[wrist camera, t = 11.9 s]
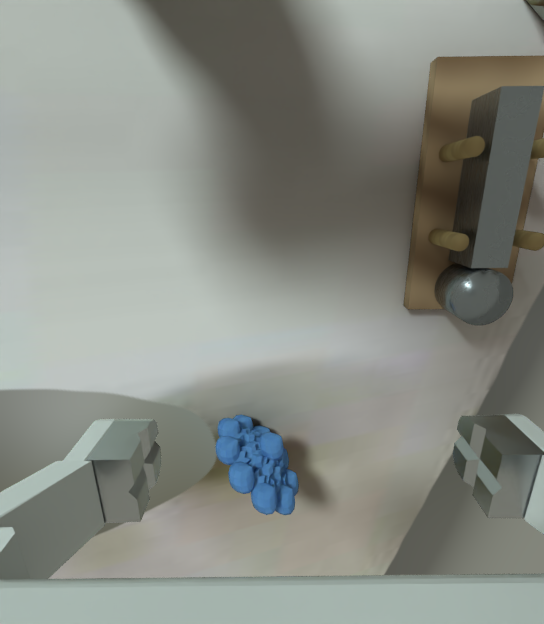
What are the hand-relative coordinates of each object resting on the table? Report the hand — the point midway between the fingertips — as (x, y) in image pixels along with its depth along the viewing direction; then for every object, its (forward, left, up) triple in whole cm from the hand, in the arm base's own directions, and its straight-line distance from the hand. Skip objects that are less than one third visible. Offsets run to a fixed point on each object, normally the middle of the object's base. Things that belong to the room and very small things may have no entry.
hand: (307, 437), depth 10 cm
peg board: (-6, +20, -31) cm, 37 cm away
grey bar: (-4, +20, -29) cm, 36 cm away
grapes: (+22, -2, -31) cm, 38 cm away
